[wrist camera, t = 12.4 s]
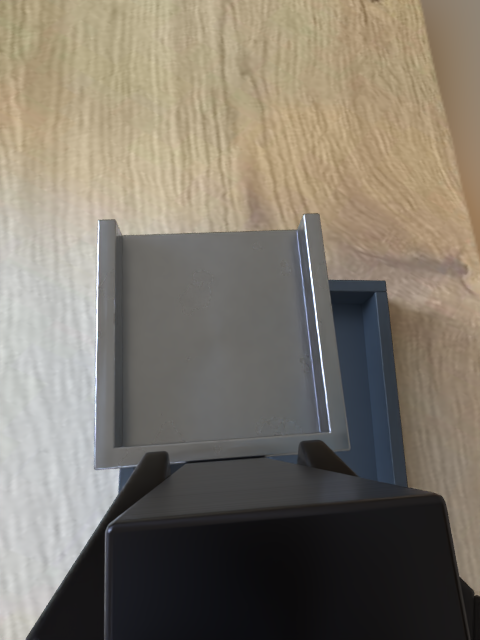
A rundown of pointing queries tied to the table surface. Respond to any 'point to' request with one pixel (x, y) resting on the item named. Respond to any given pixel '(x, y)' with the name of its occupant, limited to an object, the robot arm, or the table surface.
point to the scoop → (249, 454)
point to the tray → (361, 384)
